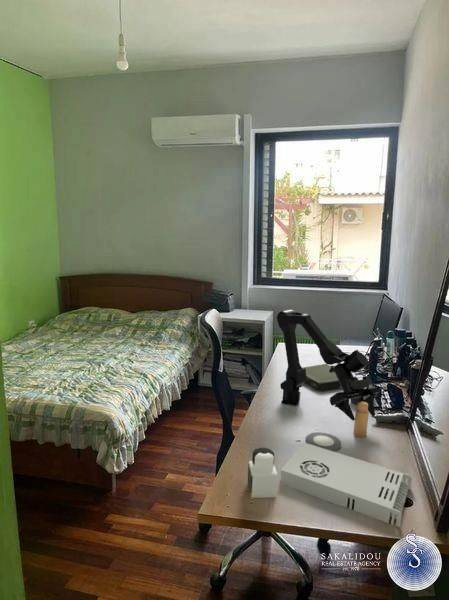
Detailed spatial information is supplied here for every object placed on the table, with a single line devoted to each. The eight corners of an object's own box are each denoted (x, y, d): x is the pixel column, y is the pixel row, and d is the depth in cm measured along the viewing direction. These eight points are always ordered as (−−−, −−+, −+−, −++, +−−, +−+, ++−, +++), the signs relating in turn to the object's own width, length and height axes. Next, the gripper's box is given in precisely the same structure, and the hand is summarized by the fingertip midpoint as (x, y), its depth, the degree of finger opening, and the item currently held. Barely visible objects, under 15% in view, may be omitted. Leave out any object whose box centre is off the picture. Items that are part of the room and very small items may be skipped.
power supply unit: (399, 530, 107) (401, 512, 106) (279, 485, 124) (280, 469, 123) (410, 491, 123) (412, 475, 122) (302, 456, 140) (303, 442, 139)
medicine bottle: (247, 482, 123) (249, 444, 121) (271, 482, 124) (273, 444, 122) (250, 498, 116) (253, 458, 114) (276, 498, 117) (279, 458, 115)
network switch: (358, 385, 202) (359, 375, 201) (324, 395, 189) (325, 385, 188) (321, 370, 221) (322, 361, 220) (288, 378, 208) (289, 369, 207)
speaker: (370, 403, 181) (370, 380, 179) (365, 408, 177) (364, 384, 175) (353, 399, 186) (352, 377, 184) (348, 404, 181) (347, 381, 180)
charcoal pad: (302, 446, 144) (302, 444, 144) (309, 431, 155) (310, 429, 155) (338, 455, 140) (338, 453, 140) (343, 438, 151) (343, 436, 150)
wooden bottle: (352, 435, 153) (355, 404, 151) (354, 430, 157) (357, 400, 155) (365, 438, 151) (369, 407, 149) (366, 433, 155) (370, 402, 153)
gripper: (337, 371, 150) (356, 414, 142) (377, 366, 157) (397, 405, 150) (321, 385, 158) (338, 425, 150) (360, 378, 166) (378, 417, 158)
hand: (364, 418), depth 152 cm, fingers open, 9 cm apart
